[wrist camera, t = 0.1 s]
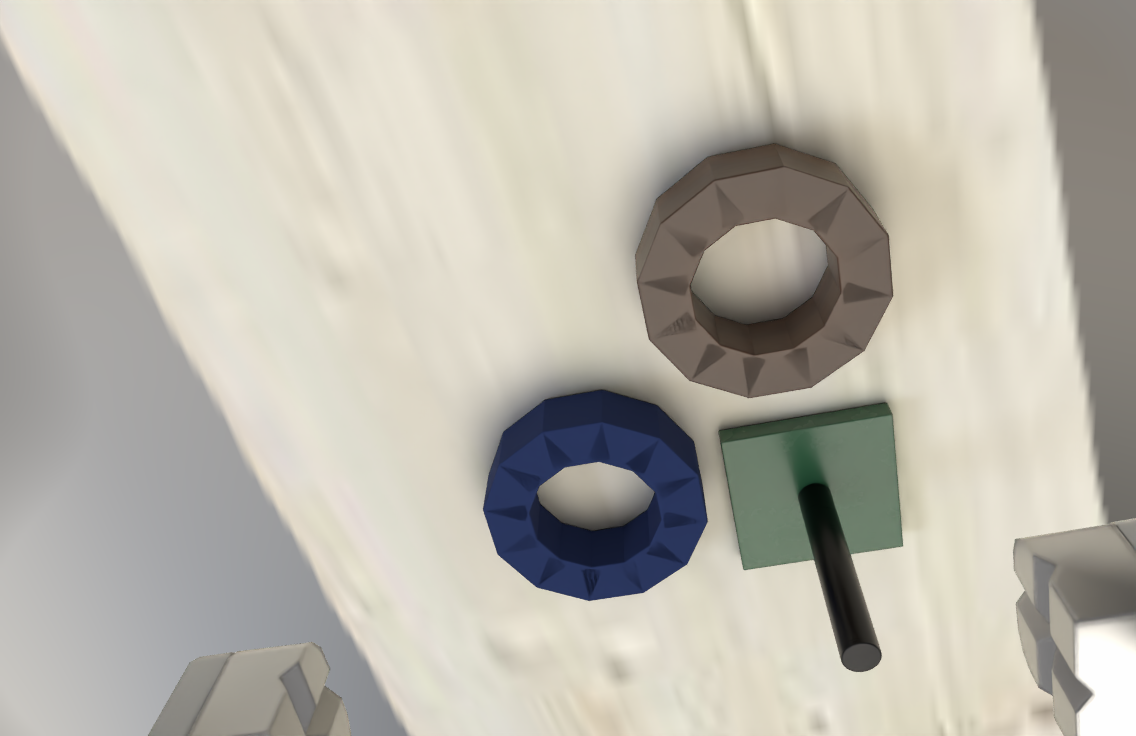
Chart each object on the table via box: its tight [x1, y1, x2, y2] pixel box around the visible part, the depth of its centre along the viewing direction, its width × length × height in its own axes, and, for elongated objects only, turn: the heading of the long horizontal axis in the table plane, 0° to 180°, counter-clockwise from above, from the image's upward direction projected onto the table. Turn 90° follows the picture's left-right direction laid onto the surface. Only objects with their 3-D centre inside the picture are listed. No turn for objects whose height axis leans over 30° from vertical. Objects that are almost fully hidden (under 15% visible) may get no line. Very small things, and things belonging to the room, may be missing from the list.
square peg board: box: [719, 403, 903, 672], centre depth 53 cm, size 9×9×13 cm
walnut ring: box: [635, 143, 893, 398], centre depth 51 cm, size 12×12×3 cm
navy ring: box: [483, 390, 708, 601], centre depth 58 cm, size 12×12×3 cm
